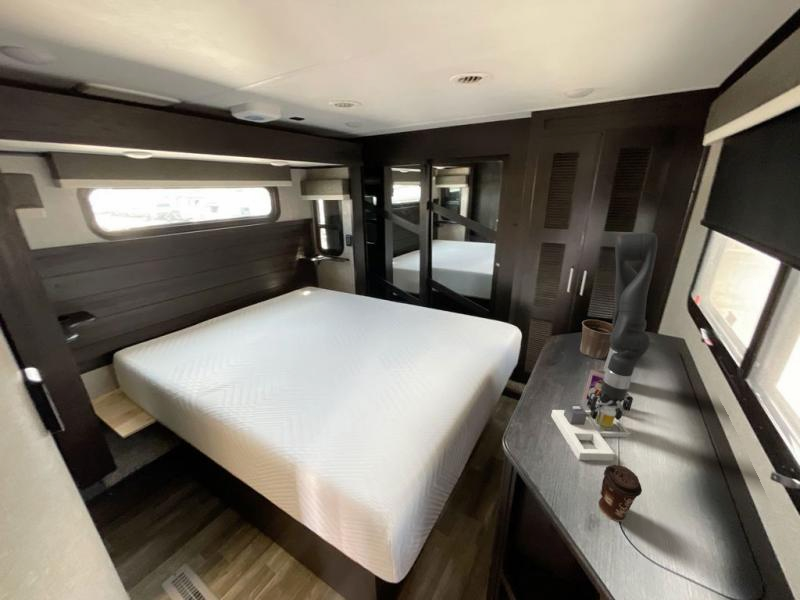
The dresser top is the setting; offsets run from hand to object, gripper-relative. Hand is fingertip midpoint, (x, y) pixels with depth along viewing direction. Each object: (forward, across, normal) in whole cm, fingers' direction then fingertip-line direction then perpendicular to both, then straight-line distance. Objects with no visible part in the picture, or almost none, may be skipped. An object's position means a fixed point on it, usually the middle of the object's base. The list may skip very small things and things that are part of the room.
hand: (604, 417), depth 112 cm
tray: (+3, 0, 0) cm, 3 cm away
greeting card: (+3, -6, -12) cm, 14 cm away
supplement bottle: (+3, 0, 0) cm, 3 cm away
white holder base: (+3, +12, +6) cm, 14 cm away
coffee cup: (+3, +17, +32) cm, 36 cm away
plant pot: (+3, -26, -52) cm, 58 cm away
